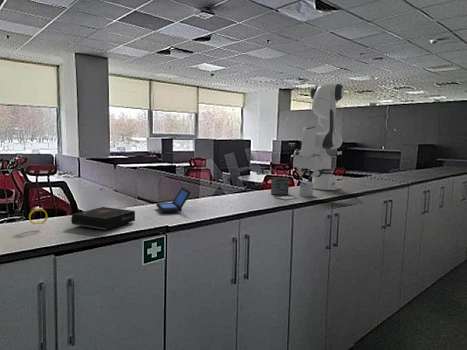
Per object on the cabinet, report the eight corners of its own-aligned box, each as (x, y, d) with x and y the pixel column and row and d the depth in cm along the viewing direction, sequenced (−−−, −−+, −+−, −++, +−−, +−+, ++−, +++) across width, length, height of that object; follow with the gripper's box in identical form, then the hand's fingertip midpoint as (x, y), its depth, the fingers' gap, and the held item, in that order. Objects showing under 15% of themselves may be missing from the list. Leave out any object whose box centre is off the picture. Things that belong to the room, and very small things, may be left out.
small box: (287, 194, 227) (288, 177, 226) (288, 195, 220) (289, 178, 219) (270, 193, 228) (271, 176, 227) (271, 194, 221) (271, 178, 220)
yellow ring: (29, 225, 131) (29, 209, 130) (28, 224, 133) (28, 208, 133) (48, 223, 135) (47, 208, 134) (46, 222, 137) (46, 206, 136)
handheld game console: (155, 206, 176) (155, 187, 175) (182, 205, 181) (182, 186, 180) (161, 212, 161) (162, 192, 160) (190, 211, 166) (191, 191, 165)
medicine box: (306, 195, 223) (307, 181, 222) (312, 196, 220) (313, 182, 219) (299, 196, 218) (299, 182, 217) (305, 197, 214) (306, 183, 214)
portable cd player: (102, 215, 152) (102, 206, 152) (134, 220, 146) (134, 210, 145) (71, 224, 137) (71, 213, 137) (106, 229, 131) (106, 218, 130)
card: (288, 196, 216) (288, 195, 216) (299, 198, 210) (299, 197, 210) (274, 198, 209) (275, 197, 209) (285, 200, 202) (285, 199, 202)
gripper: (325, 154, 210) (324, 177, 211) (298, 152, 226) (297, 174, 227) (319, 154, 206) (317, 178, 207) (292, 152, 222) (291, 174, 223)
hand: (307, 176), depth 217 cm, fingers open, 8 cm apart
